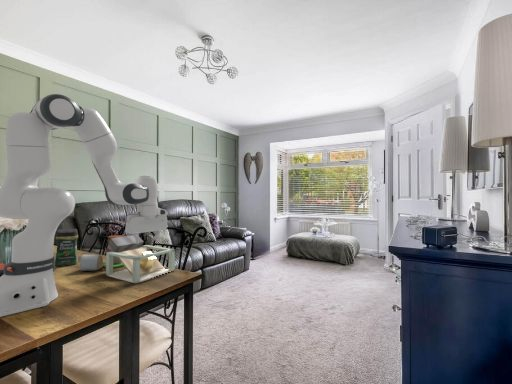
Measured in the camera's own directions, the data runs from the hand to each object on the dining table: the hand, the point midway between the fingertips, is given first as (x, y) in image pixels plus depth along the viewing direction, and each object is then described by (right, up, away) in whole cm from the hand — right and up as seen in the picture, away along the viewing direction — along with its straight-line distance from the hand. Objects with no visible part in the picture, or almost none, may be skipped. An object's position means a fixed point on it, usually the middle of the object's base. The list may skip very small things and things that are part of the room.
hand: (147, 241), depth 123 cm
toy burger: (-23, -15, +16) cm, 32 cm away
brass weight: (-1, -11, +1) cm, 11 cm away
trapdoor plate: (-8, -9, +5) cm, 14 cm away
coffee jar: (-49, -15, +17) cm, 54 cm away
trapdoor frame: (-3, -15, +2) cm, 16 cm away
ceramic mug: (-30, -15, +8) cm, 35 cm away
